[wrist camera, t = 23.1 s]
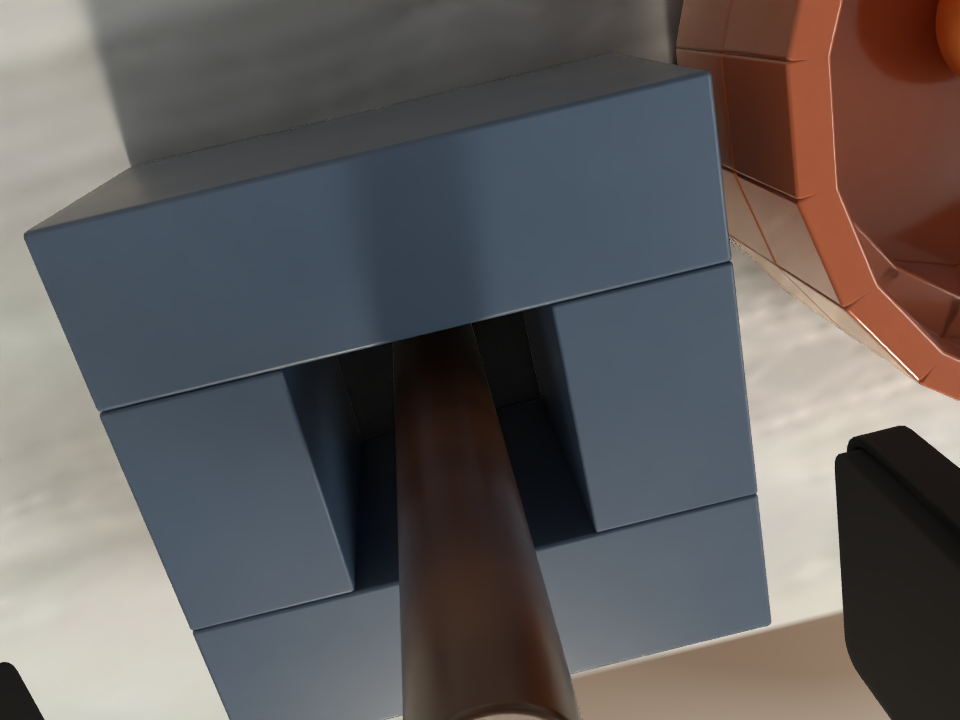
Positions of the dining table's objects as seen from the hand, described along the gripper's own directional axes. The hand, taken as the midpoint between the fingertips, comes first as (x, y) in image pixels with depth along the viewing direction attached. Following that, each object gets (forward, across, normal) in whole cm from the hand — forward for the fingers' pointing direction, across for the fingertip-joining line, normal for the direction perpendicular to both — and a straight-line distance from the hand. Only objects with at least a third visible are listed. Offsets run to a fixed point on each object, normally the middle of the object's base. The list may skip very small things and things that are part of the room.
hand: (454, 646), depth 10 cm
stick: (+11, 0, 0) cm, 11 cm away
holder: (+11, 0, +1) cm, 11 cm away
